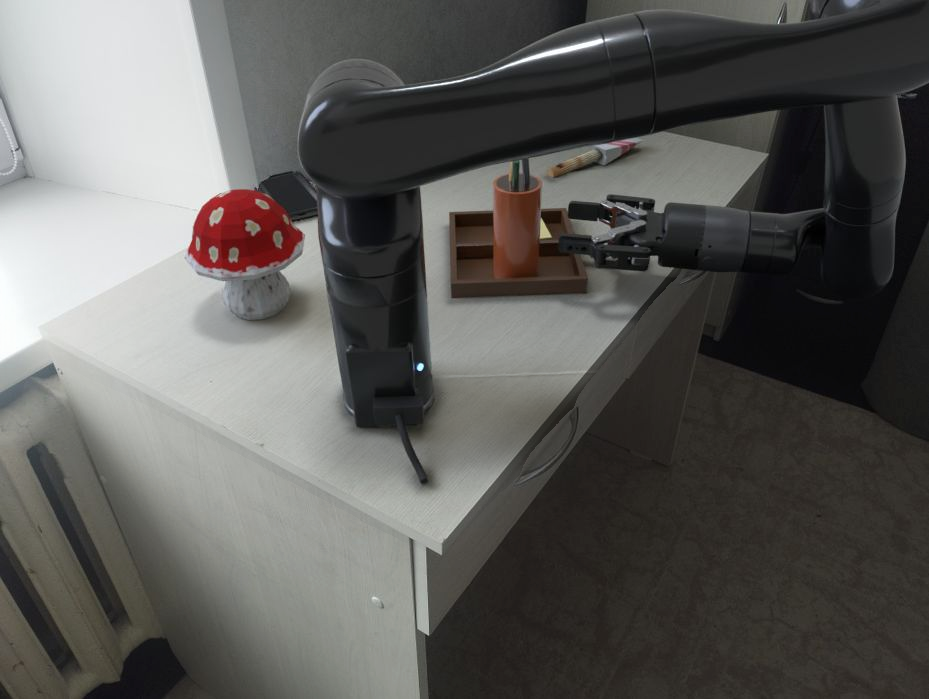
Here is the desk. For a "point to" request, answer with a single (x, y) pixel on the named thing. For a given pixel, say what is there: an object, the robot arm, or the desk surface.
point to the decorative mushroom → (246, 250)
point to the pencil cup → (516, 223)
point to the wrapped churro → (595, 156)
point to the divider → (487, 249)
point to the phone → (291, 194)
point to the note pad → (544, 232)
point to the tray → (480, 282)
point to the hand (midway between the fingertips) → (563, 225)
